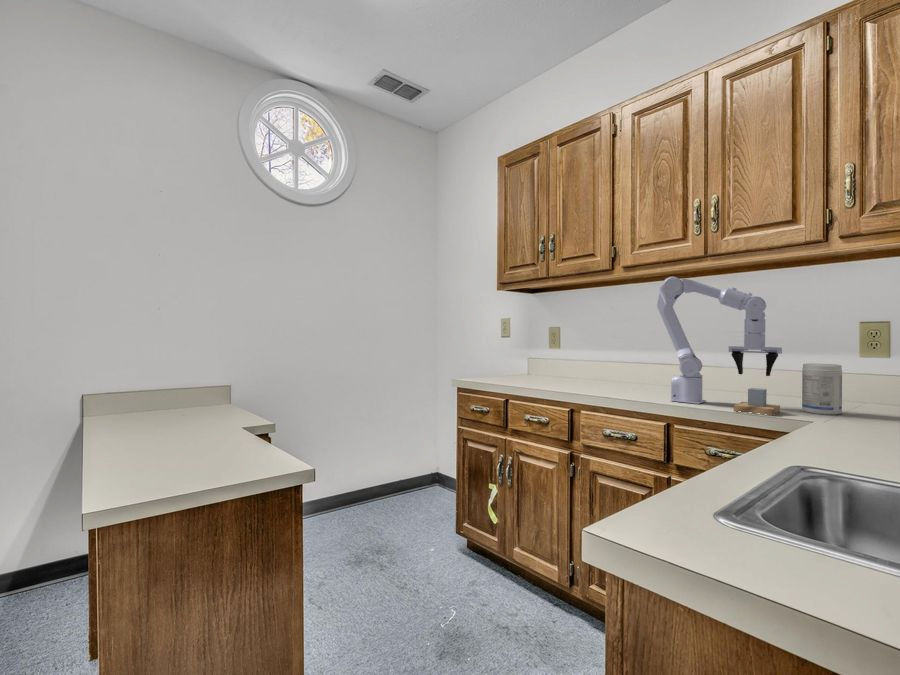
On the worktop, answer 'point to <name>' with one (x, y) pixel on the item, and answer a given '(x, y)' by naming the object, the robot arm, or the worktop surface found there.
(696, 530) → the worktop surface
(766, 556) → the worktop surface
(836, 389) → the supplement tub
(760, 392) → the block
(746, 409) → the slab
